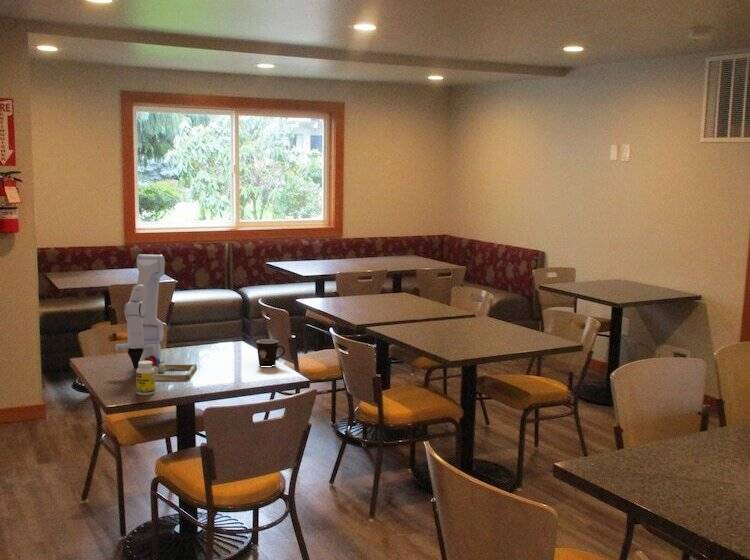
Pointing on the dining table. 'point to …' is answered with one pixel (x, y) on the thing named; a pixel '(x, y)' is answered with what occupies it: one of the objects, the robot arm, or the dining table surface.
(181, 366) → the beige wooden tray
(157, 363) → the red and white piece
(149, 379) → the pill bottle
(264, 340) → the coffee mug
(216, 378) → the dining table surface
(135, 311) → the robot arm
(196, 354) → the dining table surface
